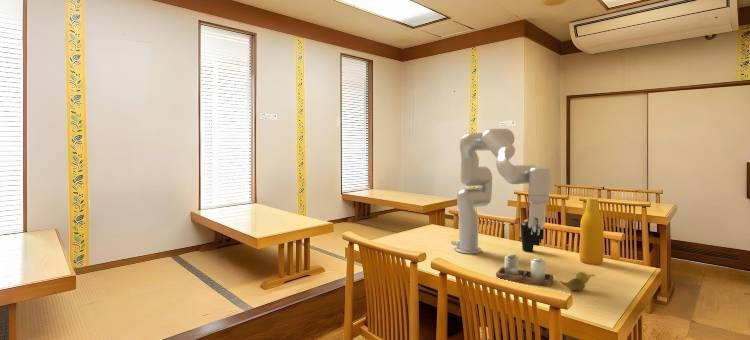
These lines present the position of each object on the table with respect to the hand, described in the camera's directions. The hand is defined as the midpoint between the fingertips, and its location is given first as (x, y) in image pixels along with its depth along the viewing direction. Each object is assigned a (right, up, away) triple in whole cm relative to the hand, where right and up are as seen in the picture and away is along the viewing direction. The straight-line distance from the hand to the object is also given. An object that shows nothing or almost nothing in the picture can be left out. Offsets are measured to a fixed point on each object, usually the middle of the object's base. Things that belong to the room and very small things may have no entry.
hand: (537, 241), depth 151 cm
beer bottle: (+34, -14, +23) cm, 43 cm away
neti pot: (+11, -16, -9) cm, 22 cm away
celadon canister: (0, -16, +1) cm, 16 cm away
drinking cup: (+13, -13, +43) cm, 47 cm away
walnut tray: (-4, -15, +3) cm, 16 cm away
